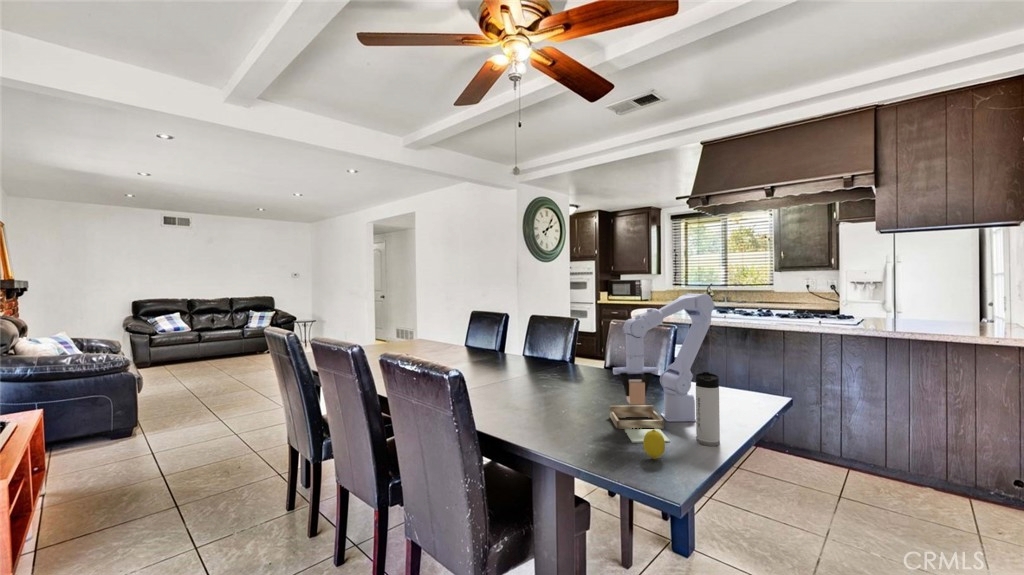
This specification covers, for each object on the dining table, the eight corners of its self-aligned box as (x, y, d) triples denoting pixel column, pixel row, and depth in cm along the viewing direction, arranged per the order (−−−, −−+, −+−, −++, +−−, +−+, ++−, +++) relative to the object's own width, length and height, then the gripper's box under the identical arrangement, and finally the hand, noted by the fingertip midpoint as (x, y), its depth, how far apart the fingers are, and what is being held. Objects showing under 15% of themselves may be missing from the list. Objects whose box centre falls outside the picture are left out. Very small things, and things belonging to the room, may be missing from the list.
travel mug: (718, 439, 130) (717, 372, 130) (721, 447, 124) (720, 377, 123) (695, 437, 132) (694, 371, 132) (697, 445, 126) (696, 376, 125)
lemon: (640, 455, 119) (639, 426, 119) (660, 454, 120) (659, 425, 119) (648, 464, 114) (647, 433, 113) (669, 463, 114) (668, 432, 114)
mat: (659, 430, 138) (659, 429, 138) (670, 442, 128) (670, 440, 128) (624, 430, 139) (624, 429, 139) (632, 442, 129) (632, 440, 129)
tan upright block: (641, 399, 149) (641, 379, 148) (645, 404, 144) (644, 382, 144) (626, 400, 149) (626, 379, 149) (629, 404, 144) (629, 383, 144)
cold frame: (653, 416, 152) (653, 405, 152) (664, 428, 140) (663, 416, 140) (610, 417, 153) (609, 405, 153) (617, 428, 141) (616, 416, 141)
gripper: (615, 357, 142) (616, 398, 142) (660, 356, 142) (661, 398, 142) (611, 353, 149) (612, 393, 150) (654, 353, 149) (654, 392, 149)
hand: (635, 395), depth 146 cm, fingers closed on tan upright block, 5 cm apart
